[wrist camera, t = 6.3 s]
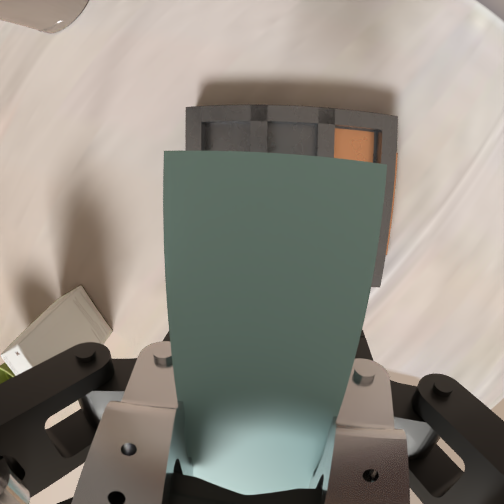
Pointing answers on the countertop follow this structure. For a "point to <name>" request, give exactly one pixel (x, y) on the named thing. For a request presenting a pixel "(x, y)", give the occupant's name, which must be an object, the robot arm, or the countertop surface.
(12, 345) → the skincare box
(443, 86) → the countertop surface
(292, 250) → the panel
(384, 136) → the rack
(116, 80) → the countertop surface
